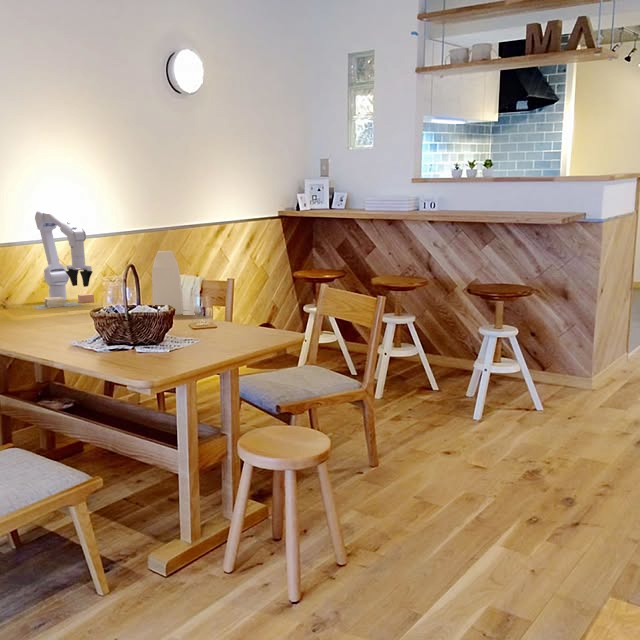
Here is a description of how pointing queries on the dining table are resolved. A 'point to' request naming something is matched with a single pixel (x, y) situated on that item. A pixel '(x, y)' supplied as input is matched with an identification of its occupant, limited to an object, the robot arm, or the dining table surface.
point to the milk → (167, 281)
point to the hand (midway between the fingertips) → (80, 286)
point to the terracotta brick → (86, 298)
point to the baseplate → (57, 307)
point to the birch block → (54, 302)
